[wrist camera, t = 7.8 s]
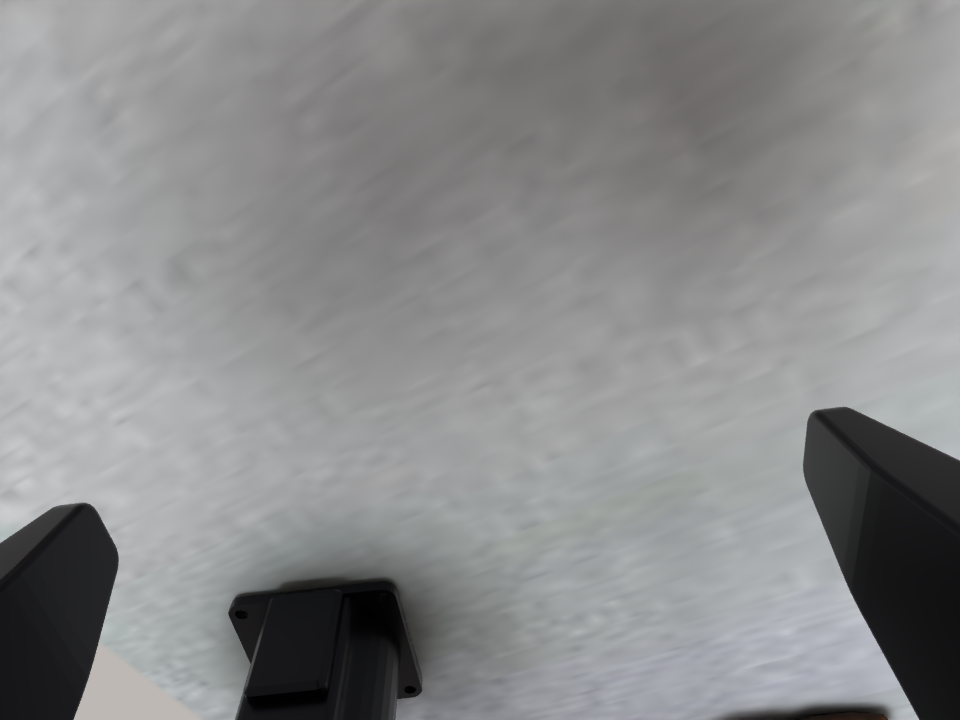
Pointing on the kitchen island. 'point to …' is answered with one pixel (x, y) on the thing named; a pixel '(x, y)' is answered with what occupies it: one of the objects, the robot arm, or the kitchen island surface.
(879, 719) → the croissant
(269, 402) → the kitchen island surface
